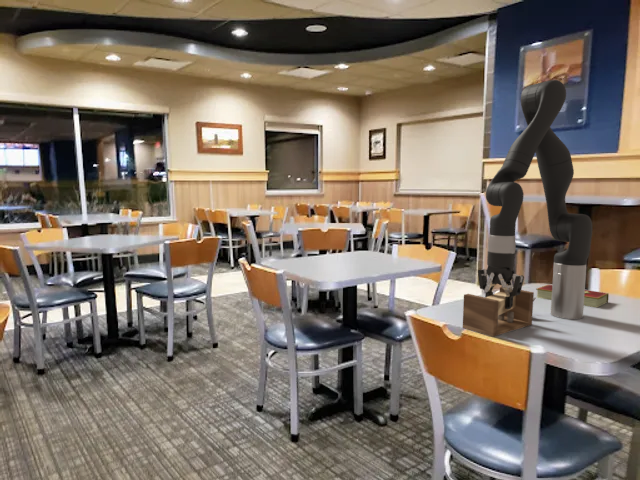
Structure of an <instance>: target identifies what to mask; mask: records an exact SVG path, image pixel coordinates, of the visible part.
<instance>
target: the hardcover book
mask: <svg viewBox="0 0 640 480" xmlns="http://www.w3.org/2000/svg"><path fill="white" fill-rule="evenodd" d="M535 290H537V291H536V298H538V299H543V300H548V301H549V300H550V301H552V284H546V285H542V286H539V287H537V288H535ZM609 297H610V295H609V292H603V291H602V292H601V291H596V290H595V291H594V290H589V289H585V294H584V305H585V306H584V307H589V306H590V307H591V308H596V309H598V308H600V307H601V306H603V305H604V304H607V303H609ZM606 302H607V303H606Z"/></svg>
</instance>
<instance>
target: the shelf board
mask: <svg viewBox="0 0 640 480" xmlns="http://www.w3.org/2000/svg"><path fill="white" fill-rule="evenodd" d="M505 297H506V293H504V292H498V293H493V295H490V296H488V297H485V298H489V299H494V300H498V301H499V303H498V316H499V315H501V314H503V313H505V312H507V311H509V310H511V309H513V308H515V303H516V296H514V297H513V306H512V307H511V309H505Z"/></svg>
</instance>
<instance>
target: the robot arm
mask: <svg viewBox="0 0 640 480" xmlns="http://www.w3.org/2000/svg"><path fill="white" fill-rule="evenodd" d="M566 97H567V89H566V86H565V85H564V83H563V82H562V81H560V80H558V79H551V80H546V81H542V82H538V83H534V84H531V85H528V86H526V87H525V88H524V89H523V90H522V92H521V94H520V106H521V111H522V113H523V117H524V120H525V122H526V125H527V127H526V128H525V129H523V131H522V132H521V133H520V134H519V135H518V137H517V138H516V139H515V140H514V141H513V143H512V144H511V146H510V147H509V149H508V151H507V154H506V157H505V159H504V161H503V164H502V166H501V167H500V169H499V170H498V171H497V172H496V174H495V175H494V176H493V178H492V179H491V180H490V182H489V183H488V185H487V187H486V191H485V199H486V201H487V203H488V204H489V205H490V206H493V207H501V209H500V212H499V213H498V214H494V215H492V216H491V217H490V221H489V235H488V242H487V257H486V258H487V261H486V264H487V268H482V269H478V270H477V275H478V285H479V289H480V290H483V291H484V293H485V295H484V296H485V297H488V296H490V295H493V294H494V292H493V291H494V289H495V287H496V286H497V285H499V286H501V287H503V289H504V290H505V293H506V297H505V309H511V307H512V306H513V297H514V296H516V295H520V293H521V290H523V289H522V288H523V285H524V279H525V276H524V275H523V274H521V275H519V274H516V272H515V265H516V264H515V262H516V249H517V248H516V225H517V224H516V223H517V219H518V217H519V214H520V211H521V208H522V205H523V202H524V195H525V194H524V190H523V187H522V186H521V184H520V183H518V182H516V181H517V180H521V179H523V178H524V177H526V175H527V173H528V171H529V169H530V167H531V164H532V163H533V160H534V156H535V157H536V161H537V162H536V163H537V166H538V167H537V168H538V171H539V175H540V176H539V177H540V179H541V182H542V183H541V184H542V188H543V192H544V197H545V202H546V203H545V204H546V209H547V210H546V211H547V217H548V218H547V219H548V226H549V232H550V234H551V236H552V238H553V239H554V240H556V241H558V242H564V243H568V247H567V248H566V250H563V251H560V252H556V253H555V254H554V256H553V270H552V271H553V272H552V284H551V285H552V300H550V301H551V304H550V315H551V316H554V317H556V318H557V317H558V318H562V319H567V320H568V319H569V320H580V319H583V317H584V308H585V306H584V294H585V290H586V278H587V264H588V263H587V261H588V258H589V256H590V252H591V251H590V250H591V245H592V244H591V243H592V237H593V222H592V219H591V217H590V216H589V215H587V214H585V213H584V214H583V213H569V211H568V209H567V203H566V197H567V196H566V195H567V192H568V190H569V188H570V186H571V183H572V181H573V178H574V174H575V173H574V170H575V169H574V166H573V165H574V164H573V160H572V157H571V152H570V150H569V148H568V147H567V145H566V144H565V143H564V142H563V141H562V140H561V139H560V137H559V136H558V135H557V134H556V133H555V132H554V131H553V129H552V127H551V126H552V125H553V123H554V121H555V120H556V118H557V116H558V114H560V112H561V110H562V108H563V106H564V104H565V102H566V100H567V98H566ZM487 276H488V277H487ZM512 280H513V282H514V283H513V282H512Z"/></svg>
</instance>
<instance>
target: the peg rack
mask: <svg viewBox="0 0 640 480" xmlns="http://www.w3.org/2000/svg"><path fill="white" fill-rule="evenodd" d="M499 290H500V292H504V293H505V290H504V289H503V287H502V286H500V287H499ZM534 294H535V293H534V291H530V290H529V291H528V290H523V289H521V293H520V295H516V303H515V308H513V309H511V310H509V311H507V312H505V313H503V314H501V315H499V316H498V303H499V301H498V300H494V299H489V298H485V297H484V296H480V295H475V294H472V293H467V294H466V293H465V294H463V306H462V307H463V309H462V328H463V329H466V330H469V331H472V330H473V332H475V331H476V332H475V333H479V334H482V333H483V334H482V335H485V334H486V335H485V336H489V337H492V338H493V337H494V338H495V337H496V336H500V335H504V334H507V333H509V332H513V331H516V330H519V329H522V328H525V327H529V326H532V324H533V312H534V311H533V310H534V309H533V308H534V302H533V298H534V296H535V295H534Z"/></svg>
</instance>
